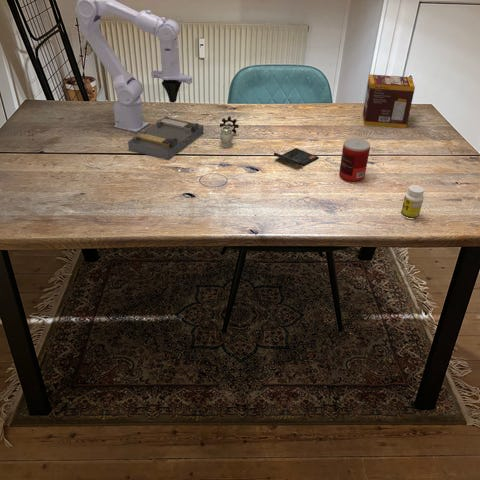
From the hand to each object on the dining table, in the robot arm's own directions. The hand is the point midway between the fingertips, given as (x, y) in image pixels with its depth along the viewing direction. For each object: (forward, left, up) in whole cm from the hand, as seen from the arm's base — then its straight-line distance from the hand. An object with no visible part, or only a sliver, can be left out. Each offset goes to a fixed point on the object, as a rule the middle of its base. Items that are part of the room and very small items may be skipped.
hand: (173, 101), depth 180 cm
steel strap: (+3, -2, -7) cm, 8 cm away
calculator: (+46, -1, -11) cm, 47 cm away
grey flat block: (+3, -9, -10) cm, 14 cm away
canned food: (+65, -4, -11) cm, 66 cm away
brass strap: (+3, -16, -7) cm, 18 cm away
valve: (+20, +1, -11) cm, 23 cm away
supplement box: (+64, +44, -11) cm, 78 cm away
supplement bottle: (+85, -18, -11) cm, 87 cm away
